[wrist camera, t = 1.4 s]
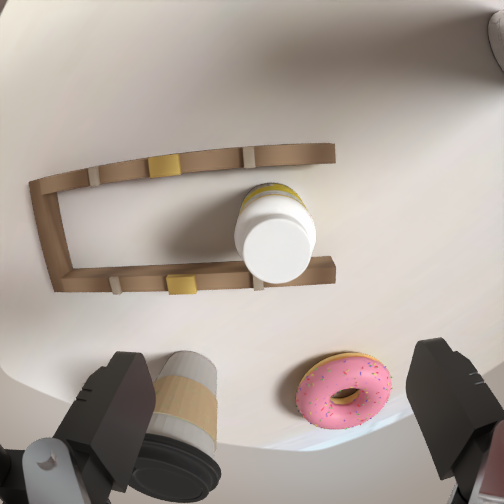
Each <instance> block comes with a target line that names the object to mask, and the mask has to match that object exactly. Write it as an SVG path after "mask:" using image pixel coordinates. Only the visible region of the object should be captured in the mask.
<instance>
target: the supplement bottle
mask: <svg viewBox="0 0 504 504" xmlns="http://www.w3.org/2000/svg"><path fill="white" fill-rule="evenodd" d="M234 240H235V246H236V249H237V251H238V254H239V255H240V257H241V258H242V260H243V261H244V262H245V264H246V266H247V268H248V270H249V271H250V272H251V273H252V274H253V275H254V276H255V277H257V278H258V279H260V280H262V281H264V282H268V283H274V284H280V283H286V282H289V281H291V280H293V279H295V278H297V277H298V276H300V275H301V274H302V273H303V272H304V270H305V269H306V268H307V266H308V264H309V262H310V259H311V254H312V251H313V249H314V245H315V241H316V230H315V225H314V222H313V219H312V217H311V215H310V213H309V212H308V210H307V209H306V207H305V205H304V204H303V202H302V200H301V199H300V197H299V196H298V195H297V193H296V192H295V191H293V190H292V189H291V188H289V187H288V186H286V185H283V184H279V183H264V184H261V185H259V186H257V187H255V188H254V189H252V190H251V191H250V192H249V193H248V194H247V195H246V197H245V199H244V200H243V203H242V205H241V209H240V212H239V216H238V219H237V223H236V226H235V232H234Z"/></svg>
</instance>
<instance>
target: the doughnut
mask: <svg viewBox="0 0 504 504" xmlns="http://www.w3.org/2000/svg"><path fill="white" fill-rule="evenodd" d="M391 378H392V377H390V374H389V371H388V370H387V369H386V366H384V365H383V364H382V363H381V362H380V361H379V360H377V359H376V358H374V357H372V356H370V355H367V354H362V353H343V354H338V355H334V356H331V357H329V358H326V359H324V360H322V361H320V362H319V363H317V364H316V365H314V366H313V367H312V368H311V369H310V370H309V371H308V372H307V373H306V374H305V375H304V377H303V378H302V380H301V382H300V384H299V387H298V391H297V394H296V404H297V406H296V407H298V409H299V411H300V412H301V414H302V415H303V418H305V419H306V420H307V421H308V422H310V424H313V425H315V426H318V427H321V428H324V429H345V428H346V429H347V428H350V427H354V426H357V425H359V424H360V425H361V424H362V423H364V422H366V421H368V420H369V419H371V418H372V417H373V416H375V415H376V414H378V412H379V411H380V410H381V409H382V408H383V407H384V405H385V404H386V403H387V401H388V398H389V395H390V391H391V389H392V388H391ZM348 388H356V389H358V390H357V391H356V392H355V393H354V394H352V395H350V396H348V397H345V398H339V399H336V398H331V396H332V395H333V396H334V394H335V393H336V392H337V393H338V391H339V392H340V391H341V390H343V389H348ZM299 411H298V412H299Z"/></svg>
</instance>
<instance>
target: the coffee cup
mask: <svg viewBox="0 0 504 504" xmlns="http://www.w3.org/2000/svg"><path fill="white" fill-rule="evenodd" d="M153 386H154V389H155V393H156V404H155V409H154V412H153V415H152V417H151V420H150V423H149V426H148V428H147V431H146V434H145V437H144V440H143V442H142V445H141V448H140V451H139V454H138V457H137V460H136V462H135V465H134V468H133V471H132V474H131V477H130V480H129V483H128V485H129V486H131V487H132V488H134V489H135V490H137V491H139V492H141V493H143V494H146V495H148V496H151V497H154V498H157V499H160V500H165V501H170V502H178V503H190V502H197V501H200V500H203V499H204V498H205V497H207V495H208V494H209V492H210V491H212V490H213V489H215V488H216V486H217V485H218V482H219V479H220V478H221V469H220V467H219V465H218V464H217V463H216V462H215V461H214V453H215V450H216V437H217V400H216V390H217V370H216V367H215V366H214V364H213V363H212V362H211V361H210V360H209V359H207V358H206V357H204V356H202V355H200V354H198V353H195V352H191V351H180V352H177V353H175V354H173V355H172V356H171V357H170V358H169V359H168V361H167V362H166V364H165V366H164V367H163V369H162V371H161V373H160V374H159V376H158V378H157V379H156V381H155V382H153Z"/></svg>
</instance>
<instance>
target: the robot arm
mask: <svg viewBox="0 0 504 504" xmlns="http://www.w3.org/2000/svg"><path fill="white" fill-rule="evenodd" d="M488 34H489V40H490V44H491V48H492V50H493V53H494V56H495V58H496V60H497V62H498V64H499V65H500V67H501V68H502V70H503V71H504V10H501V11H499V12H496V13H495V14H493V15H492V17H491V18H490V21H489V25H488ZM406 394H407V398H408V400H409V403H410V405H411V407H412V410H413V412H414V414H415V417H416V419H417V421H418V424H419V426H420V429H421V431H422V433H423V436H424V438H425V441H426V443H427V446H428V448H429V451H430V453H431V456H432V459H433V461H434V464H435V466H436V469H437V472H438V474H439V477H440V480H444V479H447V478H450V477H453V476H455V479H456V482H457V483H456V484H455V485H454V487H453V490H452V492H451V495H450V498H449V500H448V502H447V504H504V410H503V409H502V407H501V405H500V403H499V402H498V400H497V399H496V397H495V396H494V394H493V393H492V392H491V390H490V388H489V387H488V386H487V384H486V383H484V380H483V378H482V377H481V375H480V374H478V371H477V370H476V368H475V367H474V365H473V364H472V363H471V361H470V360H469V359H467V358H466V357H465V356H463V355H462V354H460V353H459V352H458V351H454V352H453V351H452V349H451V348H450V347H449V345H448V344H447V343H446V341H445V340H444V339H443V338H441V337H440V338H434V339H427V340H421V341H418V342H417V344H416V346H415V349H414V353H413V357H412V361H411V365H410V369H409V372H408V376H407V379H406ZM155 404H156V393H155V389H154V386H153V383H152V380H151V377H150V374H149V371H148V368H147V365H146V361H145V358H144V356H143V355H142V354H141V353H136V352H120V351H118V352H116V353H115V354H114V355H113V357H112V359H111V360H110V362H109V363H108V365H107V367H104V366H102V367H100V368H99V369H98V370H97V371H96V372H94V373H93V374H92V375H91V376H89V378H88V380H87V381H86V383H85V384H84V386H83V388H82V391H80V392H79V394H78V396H77V397H76V401H74V402H73V404H72V406H71V407H70V409H69V410H68V412H67V414H66V415H65V417H64V419H63V421H62V422H61V424H60V426H59V427H58V429H57V431H56V433H55V434H54V436H53V437H52V438H42V439H39V440H36V441H35V442H33V443H32V444H31V445H29V446H28V447H27V449H26V450H8V449H4V448H3V447H2V446H1V445H0V499H1V500H2V501H3V504H111V502H110V500H109V499H108V497H109V494H110V492H111V490H115V491H119V492H123V493H125V492H126V489H127V486H128V483H129V480H130V477H131V474H132V471H133V468H134V465H135V462H136V460H137V457H138V454H139V451H140V448H141V445H142V442H143V440H144V437H145V434H146V431H147V428H148V426H149V423H150V420H151V417H152V415H153V412H154V409H155Z"/></svg>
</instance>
